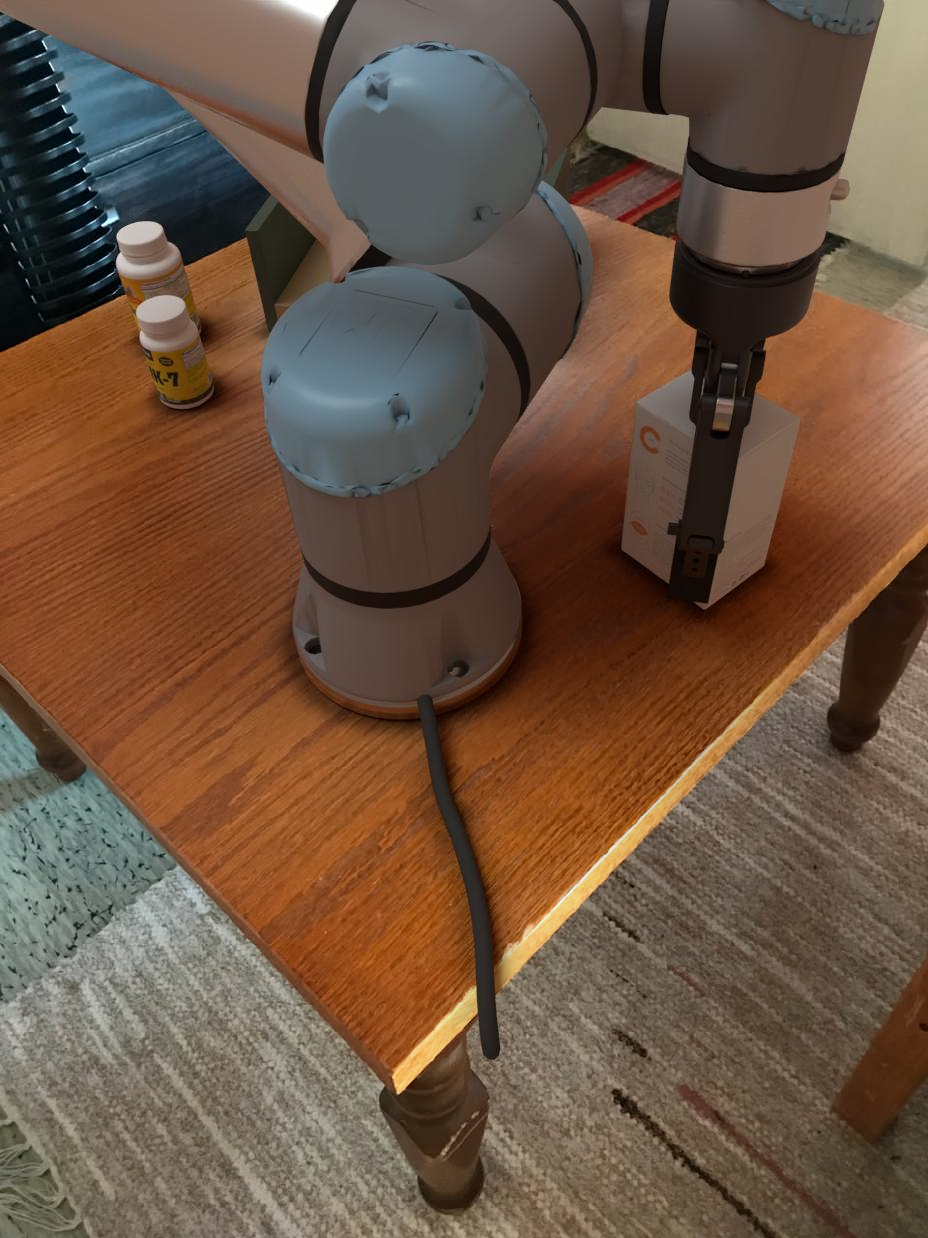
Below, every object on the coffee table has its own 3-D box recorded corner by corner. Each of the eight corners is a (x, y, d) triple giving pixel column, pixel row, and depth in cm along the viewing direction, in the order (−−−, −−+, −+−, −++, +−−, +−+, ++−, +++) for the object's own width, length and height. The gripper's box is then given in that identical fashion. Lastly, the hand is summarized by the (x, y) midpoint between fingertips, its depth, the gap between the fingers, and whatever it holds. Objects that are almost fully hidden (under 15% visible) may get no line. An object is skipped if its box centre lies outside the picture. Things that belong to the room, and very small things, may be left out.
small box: (765, 567, 69) (805, 417, 59) (703, 613, 66) (734, 464, 56) (678, 508, 73) (702, 358, 63) (617, 549, 70) (632, 400, 61)
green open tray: (530, 357, 86) (530, 250, 79) (268, 332, 91) (244, 229, 83) (567, 241, 99) (570, 139, 91) (335, 224, 103) (320, 126, 96)
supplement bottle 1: (141, 325, 92) (105, 221, 85) (200, 314, 93) (170, 210, 85) (144, 358, 89) (107, 253, 81) (205, 347, 90) (174, 241, 82)
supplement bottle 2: (148, 400, 85) (117, 314, 78) (185, 371, 87) (158, 285, 81) (190, 417, 83) (161, 330, 77) (226, 387, 86) (202, 300, 79)
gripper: (823, 371, 44) (741, 676, 61) (823, 147, 58) (756, 446, 75) (653, 356, 45) (619, 658, 62) (693, 140, 59) (656, 435, 76)
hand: (694, 542), depth 68 cm, fingers closed on small box, 10 cm apart
